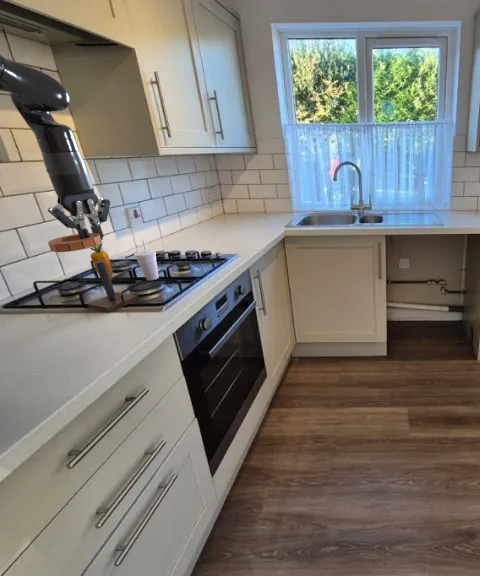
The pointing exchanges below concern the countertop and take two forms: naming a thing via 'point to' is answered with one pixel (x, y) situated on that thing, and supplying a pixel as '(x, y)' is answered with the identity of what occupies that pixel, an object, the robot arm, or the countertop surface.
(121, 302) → the peg stand
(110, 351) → the countertop surface
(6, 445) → the countertop surface
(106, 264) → the carrot
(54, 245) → the hang ring
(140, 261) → the smoothie
